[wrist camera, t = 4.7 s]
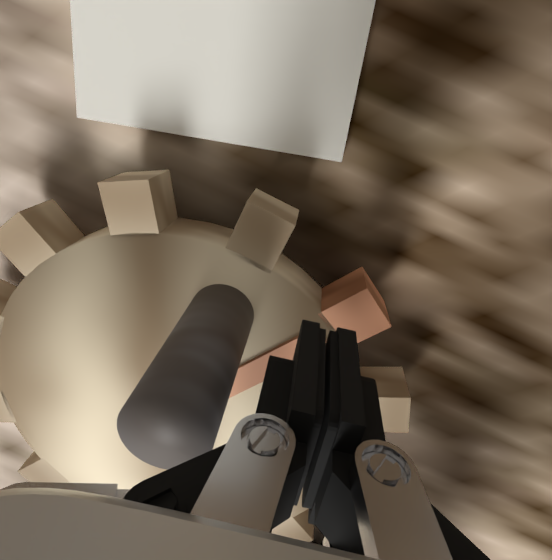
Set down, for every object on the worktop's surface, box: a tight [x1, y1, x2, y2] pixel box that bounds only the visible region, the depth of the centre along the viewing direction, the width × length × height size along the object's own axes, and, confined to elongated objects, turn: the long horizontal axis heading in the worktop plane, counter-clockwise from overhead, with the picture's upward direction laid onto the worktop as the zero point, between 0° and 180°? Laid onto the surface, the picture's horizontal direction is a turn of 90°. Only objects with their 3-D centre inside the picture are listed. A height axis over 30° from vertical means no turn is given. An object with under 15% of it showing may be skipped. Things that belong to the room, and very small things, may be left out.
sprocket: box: [0, 170, 411, 542], centre depth 16 cm, size 20×20×8 cm
